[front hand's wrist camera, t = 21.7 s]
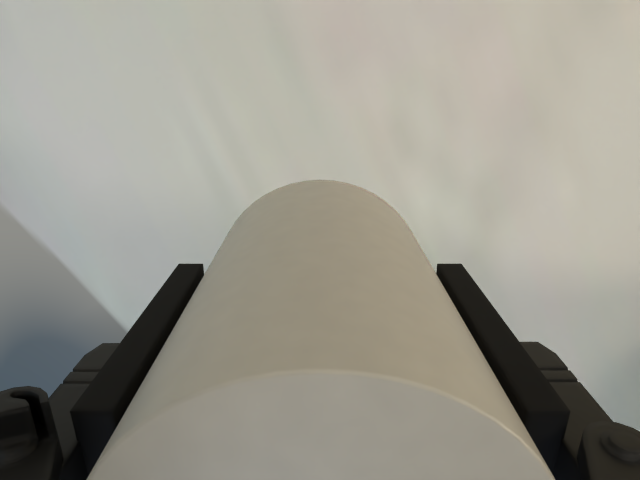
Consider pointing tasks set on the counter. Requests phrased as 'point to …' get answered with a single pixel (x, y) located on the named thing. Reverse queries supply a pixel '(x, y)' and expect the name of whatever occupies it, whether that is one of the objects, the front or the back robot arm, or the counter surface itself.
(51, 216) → the counter surface
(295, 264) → the canister
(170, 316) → the front robot arm
